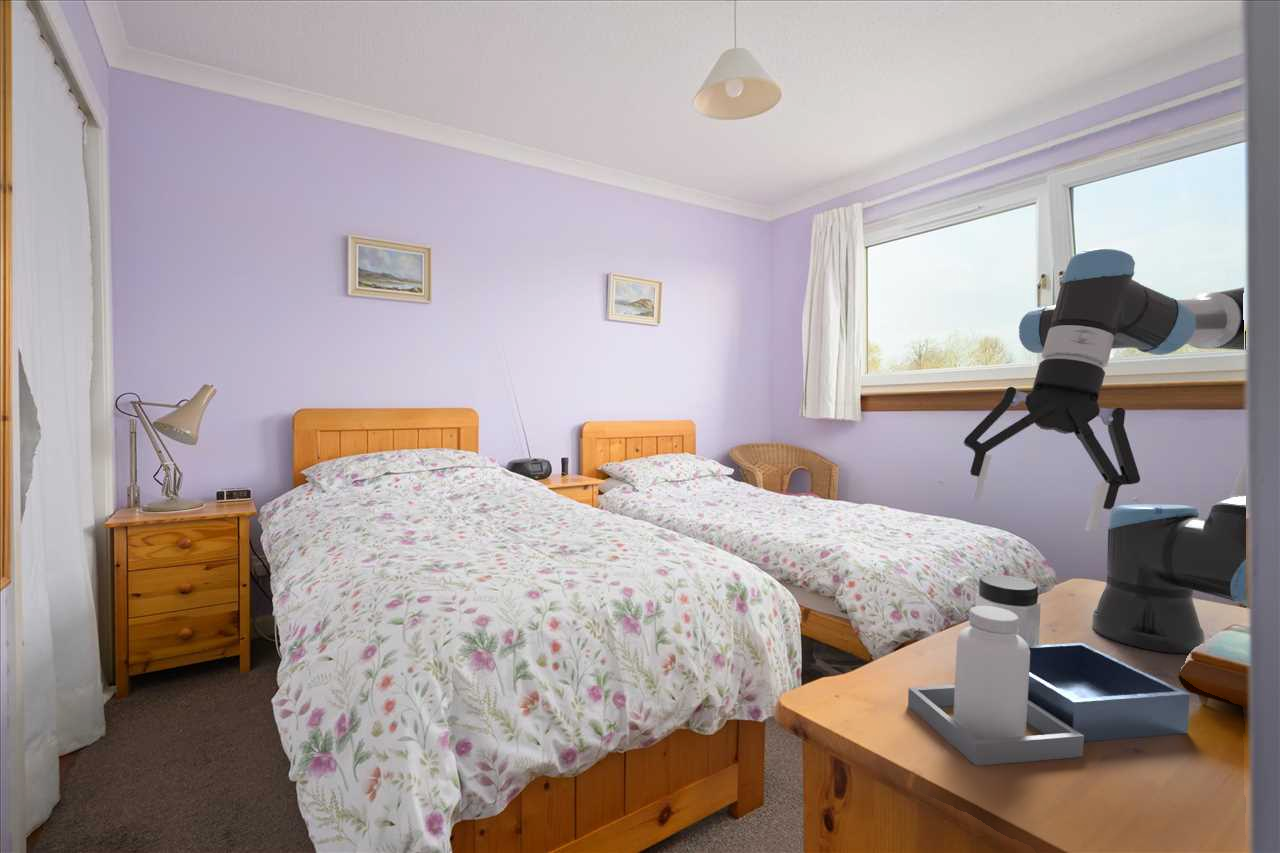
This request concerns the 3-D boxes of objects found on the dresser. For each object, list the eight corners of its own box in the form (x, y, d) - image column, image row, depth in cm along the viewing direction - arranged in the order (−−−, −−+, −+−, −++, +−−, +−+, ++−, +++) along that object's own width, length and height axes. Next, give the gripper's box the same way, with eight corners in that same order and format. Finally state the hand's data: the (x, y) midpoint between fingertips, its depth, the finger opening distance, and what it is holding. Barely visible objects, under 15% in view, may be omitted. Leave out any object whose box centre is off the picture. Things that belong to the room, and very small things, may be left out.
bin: (1080, 675, 93) (1081, 642, 93) (1187, 733, 78) (1189, 694, 77) (982, 681, 91) (983, 648, 91) (1072, 742, 75) (1074, 702, 75)
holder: (1000, 699, 86) (1000, 681, 86) (1083, 756, 72) (1083, 735, 72) (908, 705, 84) (908, 687, 84) (975, 765, 71) (976, 744, 70)
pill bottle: (996, 753, 73) (1001, 628, 72) (939, 720, 80) (942, 606, 79) (1041, 739, 76) (1046, 618, 75) (982, 708, 83) (986, 598, 83)
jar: (1018, 671, 95) (1021, 593, 94) (965, 652, 101) (968, 580, 101) (1046, 657, 100) (1049, 583, 99) (994, 640, 106) (996, 571, 106)
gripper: (973, 340, 87) (931, 487, 86) (1199, 377, 76) (1153, 546, 75) (969, 353, 93) (931, 490, 93) (1177, 389, 82) (1134, 544, 82)
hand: (1030, 515), depth 84 cm, fingers open, 13 cm apart
